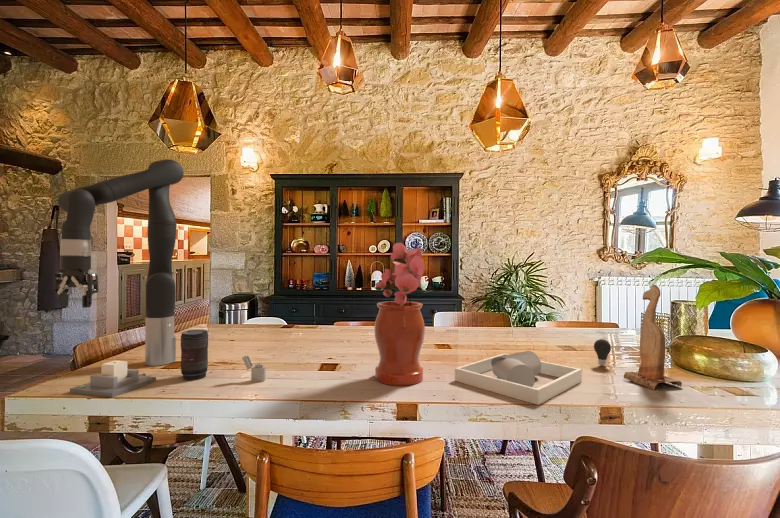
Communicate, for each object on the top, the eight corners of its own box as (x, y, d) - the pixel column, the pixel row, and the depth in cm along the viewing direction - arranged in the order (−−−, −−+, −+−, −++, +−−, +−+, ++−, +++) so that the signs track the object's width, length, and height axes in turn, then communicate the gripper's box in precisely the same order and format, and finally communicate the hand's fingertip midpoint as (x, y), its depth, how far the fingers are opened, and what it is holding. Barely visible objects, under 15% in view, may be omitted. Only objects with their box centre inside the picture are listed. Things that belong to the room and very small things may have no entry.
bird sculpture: (647, 376, 131) (648, 283, 131) (683, 387, 120) (684, 285, 120) (622, 379, 127) (623, 283, 127) (657, 391, 116) (657, 285, 116)
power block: (125, 374, 129) (125, 362, 129) (163, 378, 125) (163, 365, 125) (69, 392, 111) (69, 378, 111) (112, 397, 108) (112, 382, 108)
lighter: (265, 380, 124) (266, 355, 124) (263, 381, 122) (263, 356, 122) (244, 379, 125) (244, 354, 125) (241, 381, 123) (242, 356, 123)
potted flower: (425, 366, 142) (426, 243, 142) (437, 389, 116) (438, 240, 116) (373, 366, 141) (374, 242, 141) (374, 390, 115) (375, 239, 115)
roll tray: (503, 364, 146) (503, 353, 146) (581, 381, 125) (581, 369, 125) (454, 380, 125) (454, 368, 125) (538, 405, 105) (538, 390, 105)
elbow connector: (479, 369, 134) (500, 388, 114) (486, 339, 134) (508, 353, 114) (527, 380, 135) (556, 400, 116) (534, 350, 136) (564, 366, 116)
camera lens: (176, 381, 122) (176, 334, 122) (185, 374, 130) (186, 329, 130) (203, 380, 123) (204, 333, 123) (211, 373, 131) (211, 329, 131)
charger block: (101, 384, 115) (101, 363, 115) (115, 379, 119) (115, 360, 119) (113, 385, 114) (113, 365, 114) (127, 380, 118) (127, 361, 118)
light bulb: (590, 364, 146) (590, 337, 146) (604, 364, 147) (604, 337, 147) (599, 368, 141) (599, 340, 141) (614, 368, 141) (614, 340, 141)
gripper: (44, 254, 117) (43, 307, 117) (83, 254, 115) (82, 309, 115) (69, 254, 125) (68, 304, 125) (106, 254, 122) (105, 306, 122)
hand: (75, 306), depth 120 cm, fingers open, 8 cm apart
